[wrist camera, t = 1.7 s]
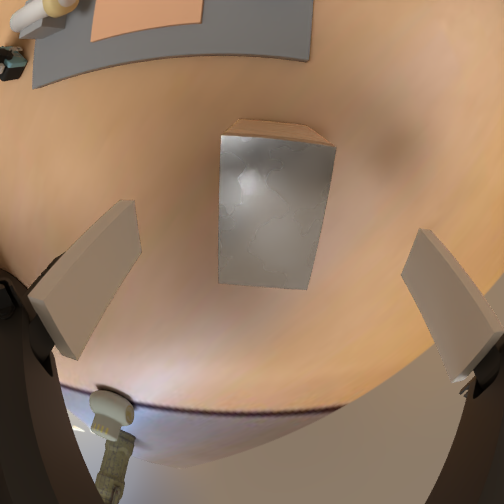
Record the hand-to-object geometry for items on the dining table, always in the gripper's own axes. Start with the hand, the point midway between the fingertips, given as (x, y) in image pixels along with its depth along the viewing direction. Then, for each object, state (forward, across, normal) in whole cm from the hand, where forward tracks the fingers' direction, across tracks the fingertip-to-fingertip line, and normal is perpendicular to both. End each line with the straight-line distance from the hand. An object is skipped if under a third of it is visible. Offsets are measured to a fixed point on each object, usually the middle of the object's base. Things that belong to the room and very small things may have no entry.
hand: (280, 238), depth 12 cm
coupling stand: (+10, -10, +16) cm, 22 cm away
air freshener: (+10, -28, -47) cm, 55 cm away
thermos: (+10, -38, -80) cm, 89 cm away
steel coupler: (+11, 0, 0) cm, 11 cm away
